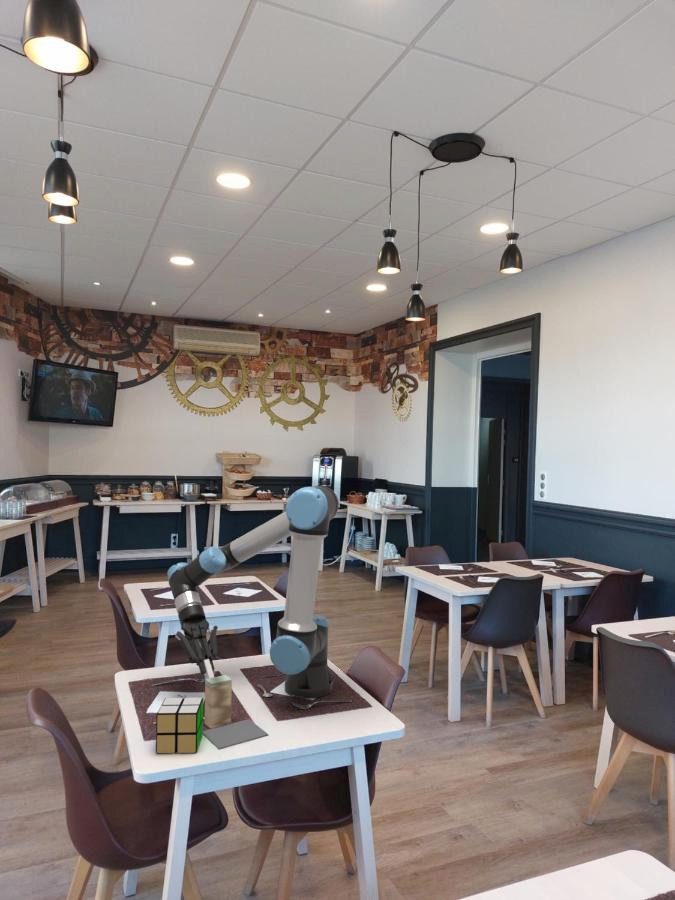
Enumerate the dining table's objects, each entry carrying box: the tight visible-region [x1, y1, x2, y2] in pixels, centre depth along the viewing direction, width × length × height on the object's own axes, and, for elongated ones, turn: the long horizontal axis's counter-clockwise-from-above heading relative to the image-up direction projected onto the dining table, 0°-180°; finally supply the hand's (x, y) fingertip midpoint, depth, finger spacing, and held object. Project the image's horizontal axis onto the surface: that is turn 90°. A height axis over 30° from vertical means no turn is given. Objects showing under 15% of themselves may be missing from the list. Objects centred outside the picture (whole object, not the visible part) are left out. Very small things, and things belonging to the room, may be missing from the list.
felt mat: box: [202, 718, 269, 750], centre depth 160 cm, size 14×11×1 cm
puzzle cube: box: [155, 697, 204, 755], centre depth 154 cm, size 10×10×10 cm
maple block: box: [204, 674, 233, 729], centre depth 166 cm, size 6×4×12 cm, turn 125°
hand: (211, 683), depth 170 cm, fingers closed
